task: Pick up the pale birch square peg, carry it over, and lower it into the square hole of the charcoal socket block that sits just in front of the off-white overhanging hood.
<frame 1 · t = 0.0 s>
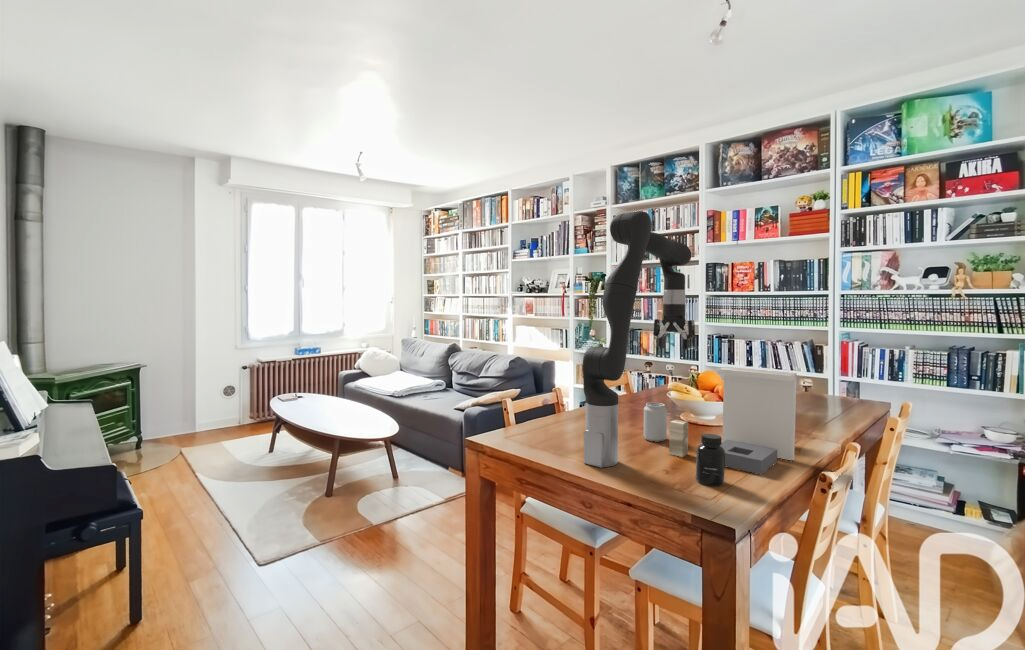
hand: (673, 349, 175), 29 cm above the table, tool pointing down, fingers open, 8 cm apart
hood: (754, 413, 149), on the table
can: (654, 439, 167), on the table
peg: (678, 454, 151), on the table
socket: (742, 463, 143), on the table
supplement bottle: (710, 482, 128), on the table
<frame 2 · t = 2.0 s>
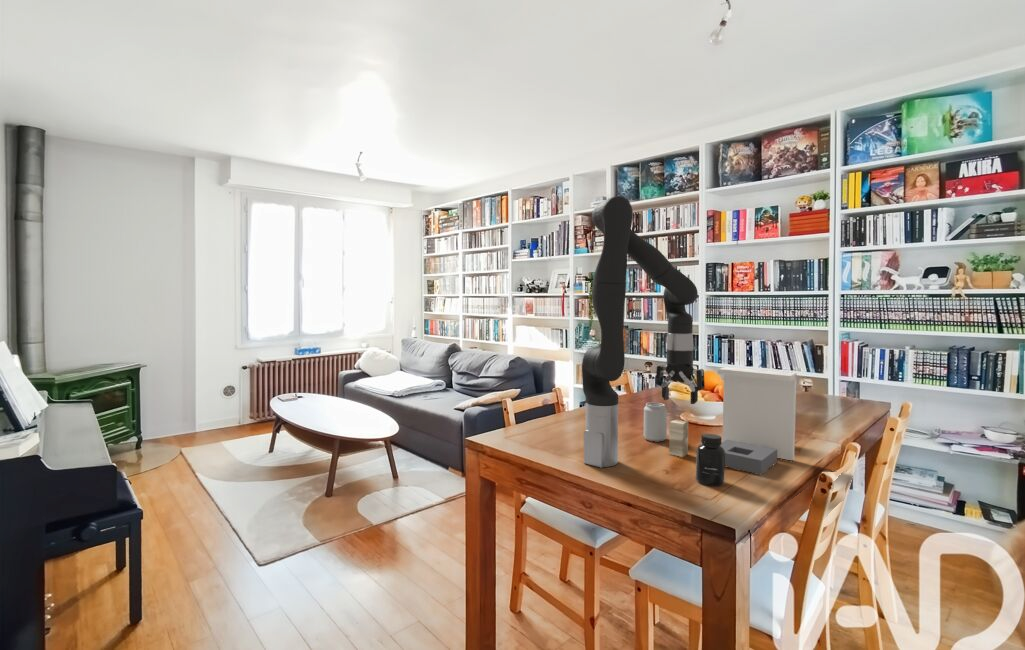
hand: (679, 401, 150), 16 cm above the table, tool pointing down, fingers open, 8 cm apart
nothing on the table moved.
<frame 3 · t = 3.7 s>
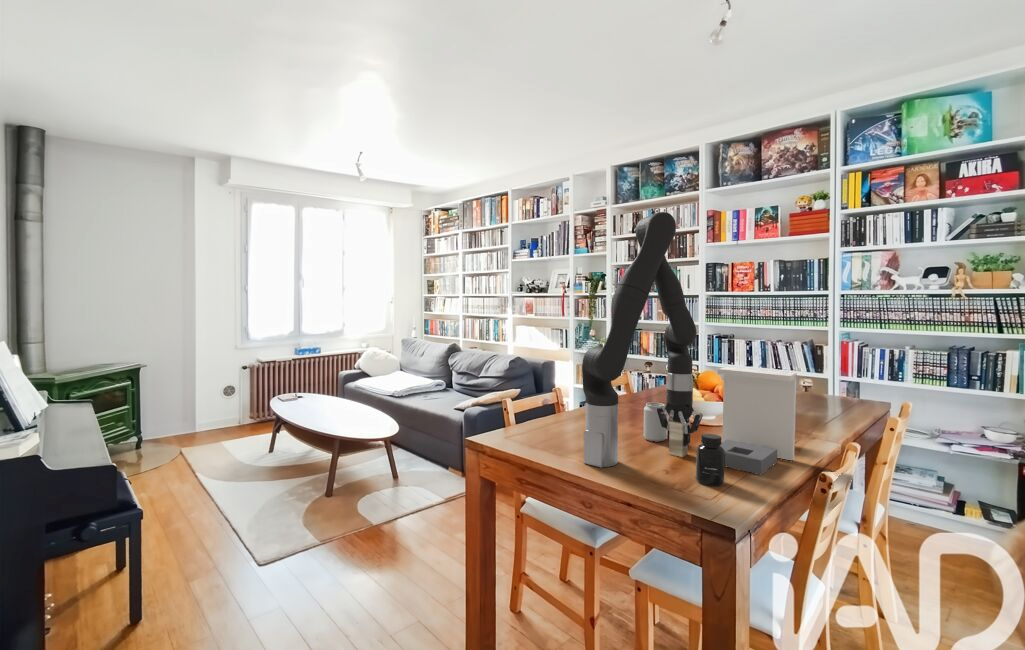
hand: (678, 443, 151), 3 cm above the table, tool pointing down, fingers closed on peg, 4 cm apart
peg: (678, 454, 151), on the table, touching gripper
everything else where it was.
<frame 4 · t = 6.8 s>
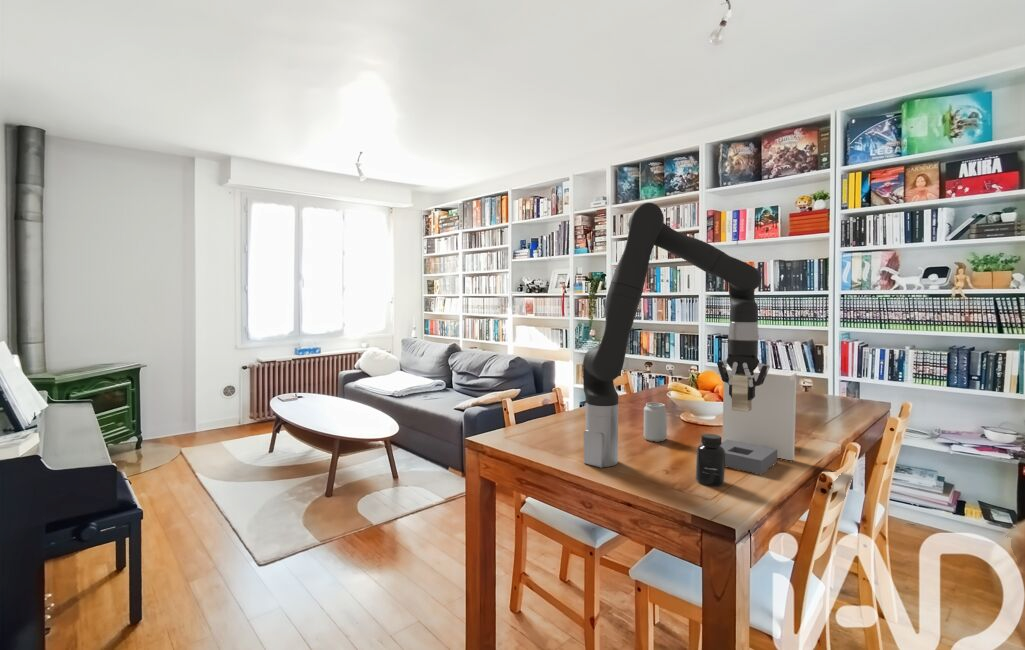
hand: (741, 398, 140), 19 cm above the table, tool pointing down, fingers closed on peg, 4 cm apart
peg: (741, 409, 141), point 16 cm above the table, touching gripper
everything else where it was.
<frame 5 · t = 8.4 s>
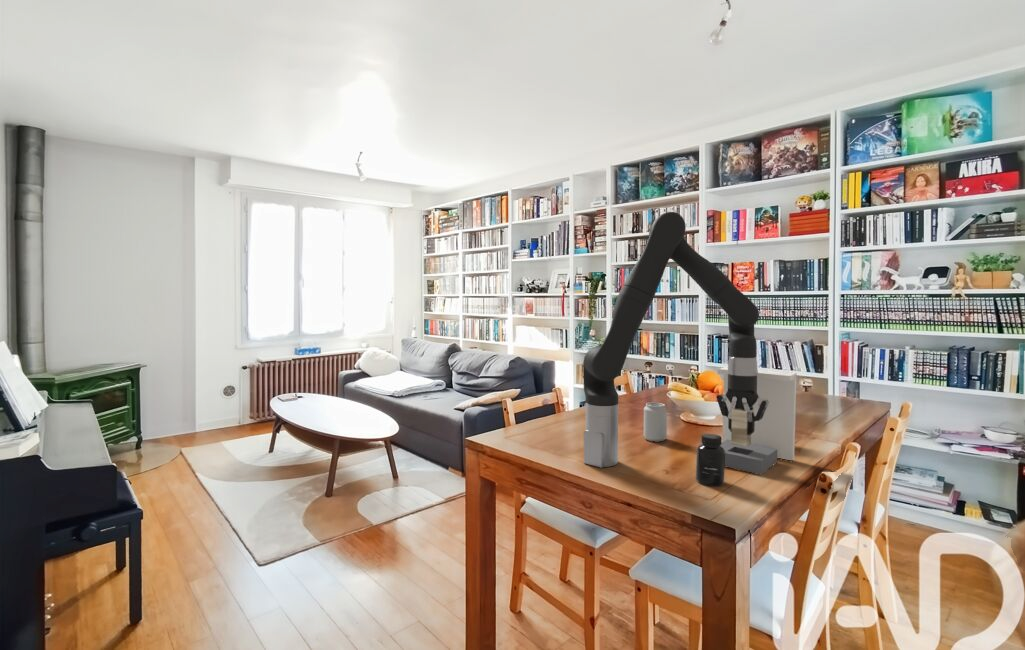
hand: (741, 432, 141), 9 cm above the table, tool pointing down, fingers closed on peg, 4 cm apart
peg: (741, 443, 141), point 6 cm above the table, touching gripper
everything else where it was.
when the fingers open (6 cm above the table, at t = 9.9 s): peg drops 2 cm, resting in socket.
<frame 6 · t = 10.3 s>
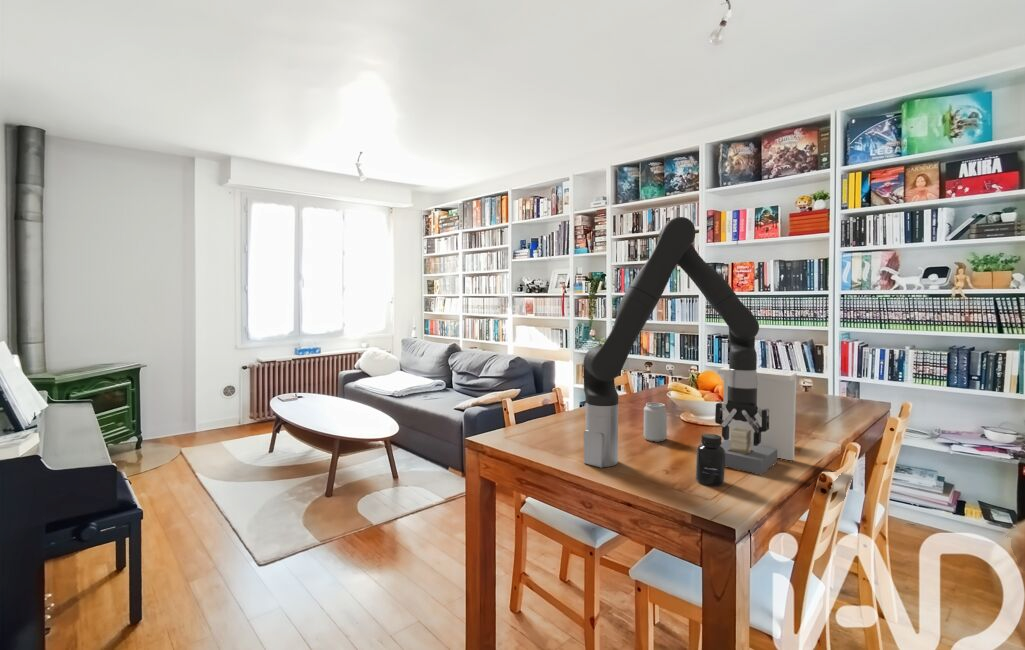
hand: (741, 442, 141), 6 cm above the table, tool pointing down, fingers open, 7 cm apart
peg: (740, 464, 141), resting in socket
everything else where it was.
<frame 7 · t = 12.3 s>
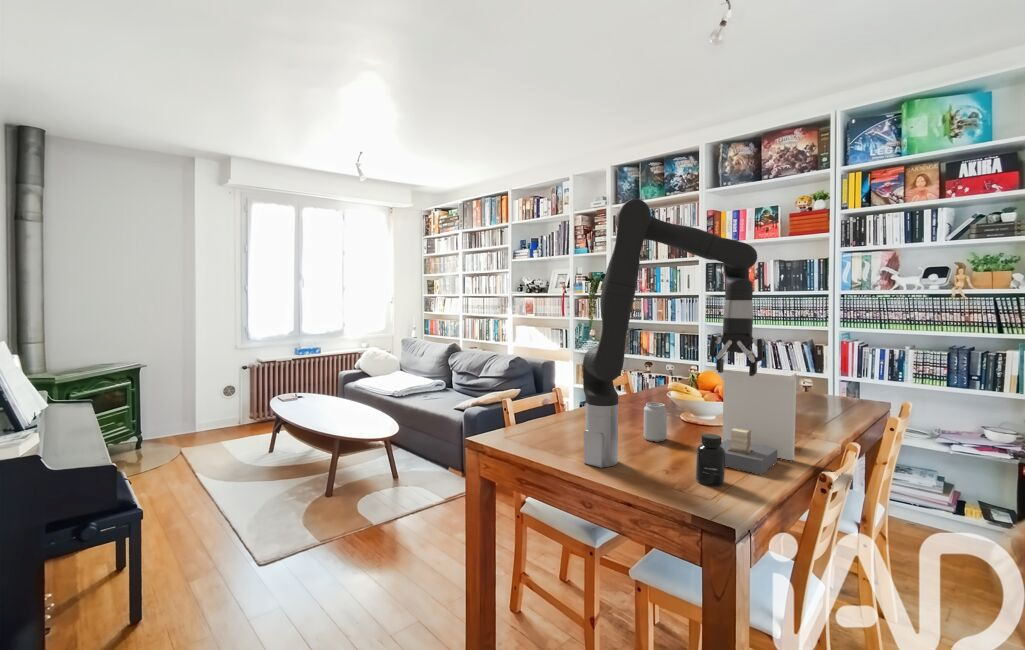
hand: (736, 374, 140), 26 cm above the table, tool pointing down, fingers open, 8 cm apart
nothing on the table moved.
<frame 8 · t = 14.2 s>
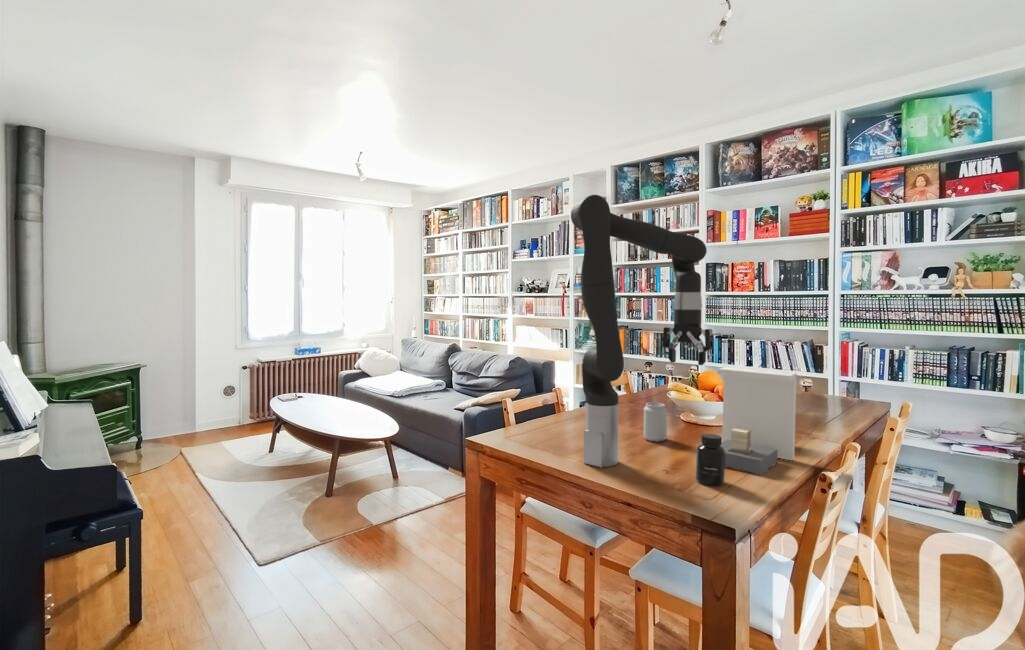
hand: (686, 363, 146), 28 cm above the table, tool pointing down, fingers open, 8 cm apart
nothing on the table moved.
at the end: peg 0.1 cm from the target spot on the socket, point 0.0 cm above the socket's base; peg tilted 0°; the gripper is holding nothing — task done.
